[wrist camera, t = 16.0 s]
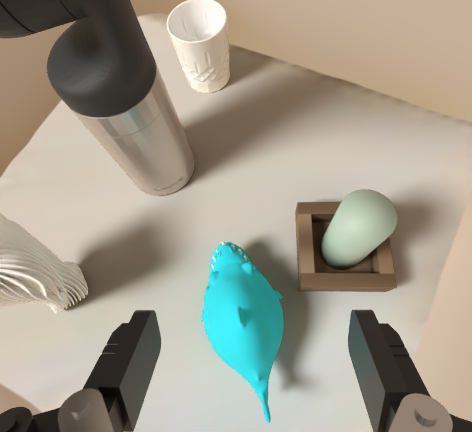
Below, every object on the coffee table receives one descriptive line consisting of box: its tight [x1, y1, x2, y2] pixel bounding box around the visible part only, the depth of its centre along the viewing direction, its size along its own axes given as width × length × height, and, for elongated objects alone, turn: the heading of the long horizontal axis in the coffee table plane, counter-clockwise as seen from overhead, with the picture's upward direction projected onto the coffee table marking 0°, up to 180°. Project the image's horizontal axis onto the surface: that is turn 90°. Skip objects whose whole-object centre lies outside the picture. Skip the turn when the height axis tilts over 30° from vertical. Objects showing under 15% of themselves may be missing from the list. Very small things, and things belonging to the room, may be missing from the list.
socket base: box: [295, 202, 396, 292], centre depth 39 cm, size 10×10×4 cm
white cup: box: [167, 0, 230, 93], centre depth 47 cm, size 8×8×10 cm
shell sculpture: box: [0, 214, 88, 313], centre depth 34 cm, size 8×8×18 cm
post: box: [319, 190, 397, 271], centre depth 35 cm, size 5×5×12 cm
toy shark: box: [202, 242, 284, 423], centre depth 34 cm, size 10×18×11 cm, turn 15°
